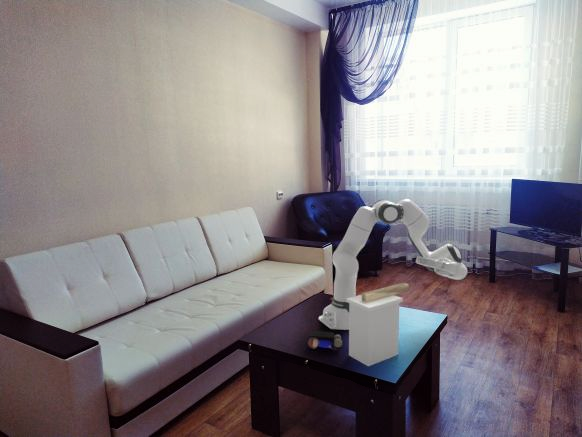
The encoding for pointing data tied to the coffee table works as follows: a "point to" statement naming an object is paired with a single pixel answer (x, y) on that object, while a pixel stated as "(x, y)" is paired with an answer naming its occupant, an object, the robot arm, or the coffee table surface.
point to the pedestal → (373, 328)
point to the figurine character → (315, 343)
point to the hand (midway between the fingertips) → (425, 260)
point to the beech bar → (385, 292)
